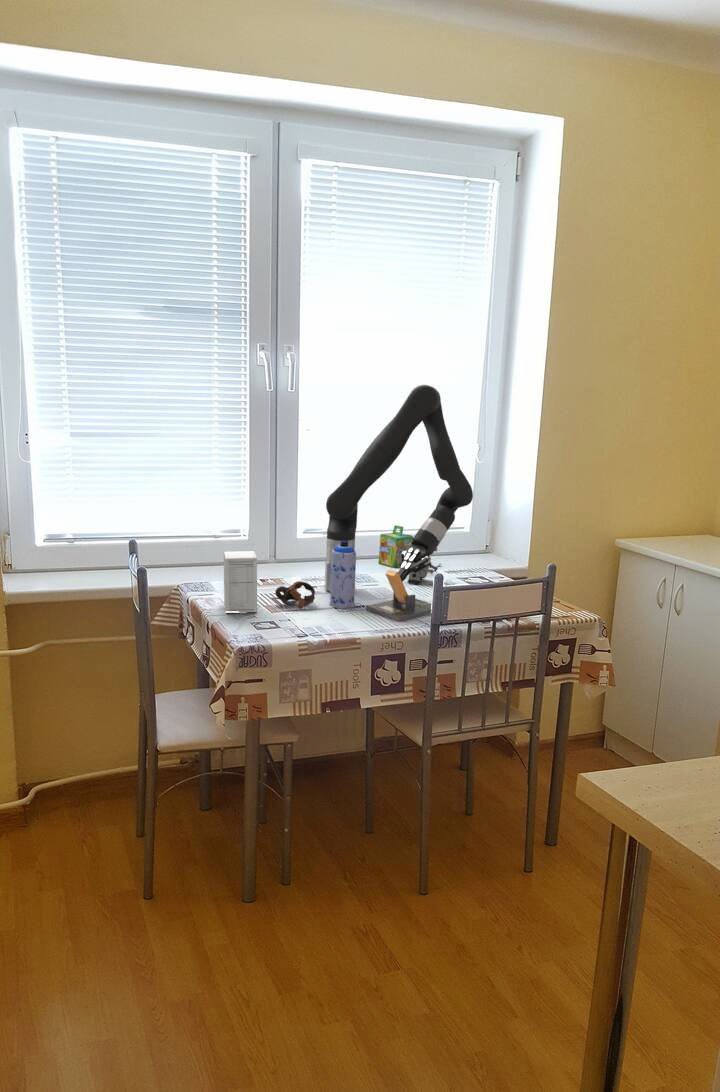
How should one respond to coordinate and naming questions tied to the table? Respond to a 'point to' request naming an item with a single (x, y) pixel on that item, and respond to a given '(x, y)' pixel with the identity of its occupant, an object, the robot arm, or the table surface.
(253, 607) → the supplement box
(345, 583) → the blue patterned bottle
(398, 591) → the lever
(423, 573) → the figurine
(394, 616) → the plate
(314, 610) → the table surface
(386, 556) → the chalk box
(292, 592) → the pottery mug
